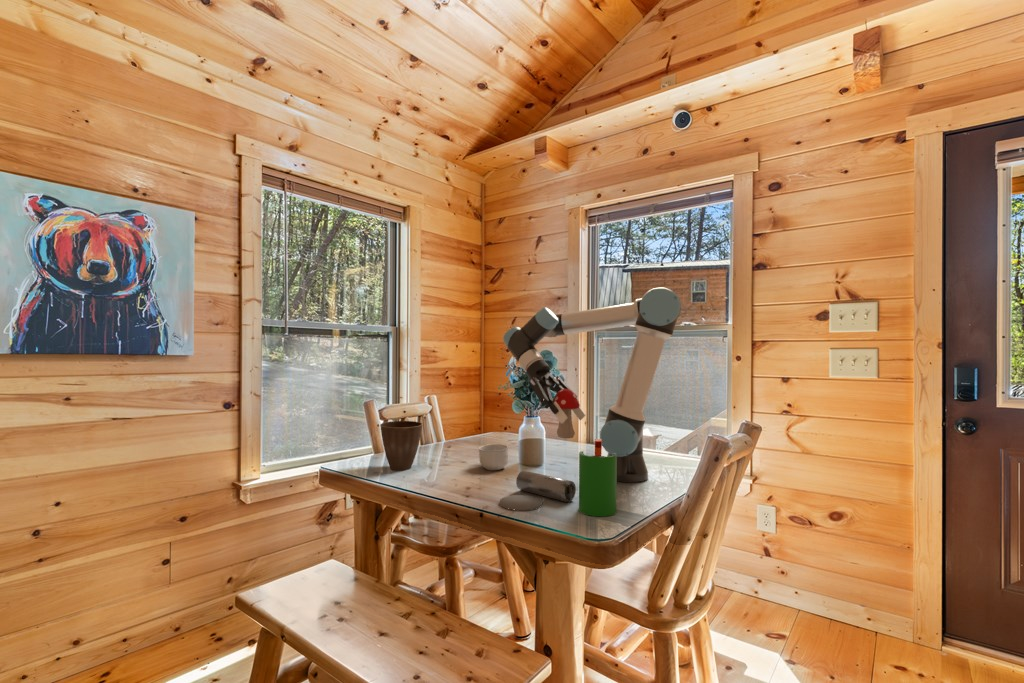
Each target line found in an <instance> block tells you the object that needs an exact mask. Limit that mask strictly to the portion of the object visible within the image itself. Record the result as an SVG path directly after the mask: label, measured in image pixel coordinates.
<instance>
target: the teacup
mask: <svg viewBox="0 0 1024 683" xmlns="http://www.w3.org/2000/svg"><path fill="white" fill-rule="evenodd" d="M478 453H479V456H478V457H479V463H480V465H481V466H482V467H483V468H484V469H485V470H488V471H500V470H502V469H504V468H505V467H506V466H507V465H508V464H509V446H508V445H507V444H501V443H492V444H491V443H485V444H484V445H481V446H479V447H478Z"/></svg>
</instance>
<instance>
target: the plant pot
mask: <svg viewBox="0 0 1024 683" xmlns="http://www.w3.org/2000/svg"><path fill="white" fill-rule="evenodd" d="M422 430H423V423H422V422H419V421H413V420H395V421H394V420H393V421H387V422H382V423H381V424H380V434H381V438H382V439H381V440H382V444H383V445H382V446H383V449H384V452H385V457H386V460H387V463H388V466H389V468H390V469H391V470H394V471H407V470H411V468H412V466H413V464H414V461H415V458H416V455H417V451H418V449H419V445H420V440H421V437H422V436H421V435H422Z"/></svg>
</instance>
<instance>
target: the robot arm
mask: <svg viewBox="0 0 1024 683" xmlns="http://www.w3.org/2000/svg"><path fill="white" fill-rule="evenodd" d="M681 308H682V304H681V299H680V297H679V296H678V294H677V293H676V292H675V291H674V290H672V289H669V288H667V287H661V286H660V287H655V288H654V287H653V288H652V289H649V290H648V291H647V292H645V294H643V296H642V297H641V298H636V299H635V300H634V301H633V302H629V303H623V304H617V305H610V306H605V307H598V308H592V309H585V310H579V311H573V312H567V313H559V314H558V313H557V314H556V313H554V312H553V311H552V310H551V309H549V308H548V307H546V306H544V307H542V308H541V309H540V310H538V311H537V312H536V313H535V314H534V315H533V316H532V317H531V318H530V319H529V320H528V321H527V322H526V323H525V324H524V325H523V326H522V327H519V326H514V327H513V326H512V328H510V329H508V330H507V331H506V332H505V333H504V334H503V338H502V340H503V343H504V345H505V346H506V348H507V350H508V351H509V352H510V353H511V355H512V356H513V357H514V359H515V360H516V361H517V363H518V364H519V366H520V367H521V368H522V370H523V371H524V372H525V374H526V375H527V377H528V378H529V382H528V384H529V385H530V386H531V387H532V389H533V391H534V393H535V395H536V397H537V399H538V400H539V402H540V405H541V406H543V407H544V408H545V409H549V410H550V411H551V412H552V414H554V416H555V417H556V418H557V420H558V421H560V423H561V424H563V423H564V422H565V421H566V420H567V419H568V417H567V416H566V415H565V413H564V412H563V410H562V409H561V408H560V406H559V405H558V404H557V402H554V403H553V399H554V398H553V396H552V392H554V393H556V394H557V392H558V391H560V390H562V389H569V390H571V391H572V392H573V393H574V394H575V396H576V398H577V399H578V395H577V394H576V393H575V392H574V391H573V390H572V389H571V387H570V386H568V384H566V383H565V381H564V380H563V379H562V378H561V376H560V375H556V376H554V375H553V374H551V367H550V365H549V364H548V363H547V361H546V360H545V359H544V357H543V356H542V354H540V352H539V351H538V350H537V349H536V347H535V346H536V345H538V344H539V342H541V341H542V340H543V339H544V338H545V337H546V338H556V337H558V336H559V337H561V336H565V335H572V334H579V333H587V332H594V331H599V330H600V331H601V330H607V329H613V328H615V329H616V328H622V327H629V326H630V327H631V326H635V329H636V330H637V334H636V337H635V338H636V339H635V341H634V345H633V348H632V351H631V354H630V358H629V360H628V363H627V367H626V371H625V374H624V377H623V381H622V384H621V386H620V390H619V393H618V396H617V400H616V403H615V404H613V405H612V406H610V407H609V409H608V413H607V415H606V419H605V422H604V424H603V425H602V426H601V429H600V432H599V439H602V449H604V450H605V451H606V452H607V455H606V457H607V456H612V455H613V453H616V454H617V482H619V483H639V482H638V481H641V482H644V480H645V481H647V480H648V477H649V471H648V468H647V465H646V464H647V463H646V461H645V458H644V455H643V454H644V453H643V452H644V443H643V442H644V440H643V439H644V435H643V434H644V425H645V423H646V420H647V419H646V417H645V415H644V408H645V406H646V402H647V400H648V396H649V393H650V390H651V387H652V383H653V381H654V377H655V374H656V371H657V368H658V364H659V361H660V358H661V355H662V351H663V348H664V345H665V343H666V340H667V339H669V338H670V337H672V336H673V334H674V330H675V327H676V324H677V321H678V319H679V317H680V315H681V310H682V309H681ZM551 391H552V392H551ZM572 412H573V413H574V415H576V417H577V419H578V420H579V421H582V420H583V419H584V418H585V417H586V415H587V414H586V412H585V411H584V410H583V408H582V407H581V405H580V406H579V408H577V409H573V410H572Z"/></svg>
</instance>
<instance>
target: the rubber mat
mask: <svg viewBox="0 0 1024 683" xmlns="http://www.w3.org/2000/svg"><path fill="white" fill-rule="evenodd" d="M500 505H501V506H503V507H505V508H509V509H515V510H529V511H532V510H531V509H534V510H537V509H536V508H538V507H540V506H541V505H543V500H542V499H541V498H539V497H537V496H534V495H527V494H514V495H507V496H504V497H502V498H500V500H499V506H500ZM501 506H500V507H501ZM503 507H502V508H503ZM541 507H542V506H541ZM541 507H540V508H541ZM505 508H504V509H505ZM509 509H508V510H509ZM538 509H539V508H538ZM515 510H514V511H515Z"/></svg>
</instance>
